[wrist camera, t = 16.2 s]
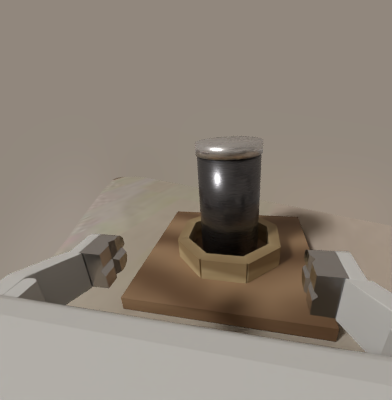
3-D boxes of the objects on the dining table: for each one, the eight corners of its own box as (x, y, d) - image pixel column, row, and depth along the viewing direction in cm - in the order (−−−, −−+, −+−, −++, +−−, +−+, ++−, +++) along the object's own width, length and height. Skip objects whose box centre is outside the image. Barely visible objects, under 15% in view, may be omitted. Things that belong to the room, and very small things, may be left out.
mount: (178, 218, 34) (176, 198, 32) (296, 225, 30) (299, 202, 29) (123, 308, 19) (116, 278, 18) (335, 341, 16) (345, 307, 14)
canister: (231, 228, 28) (231, 134, 24) (270, 250, 23) (278, 139, 19) (191, 245, 25) (182, 142, 21) (226, 274, 20) (224, 149, 16)
